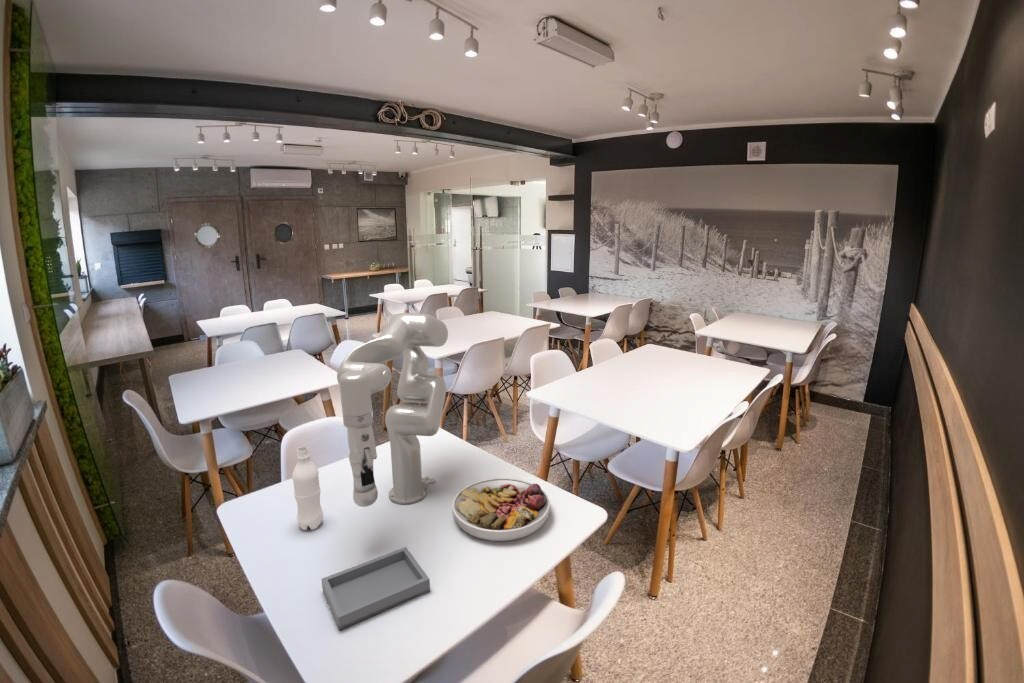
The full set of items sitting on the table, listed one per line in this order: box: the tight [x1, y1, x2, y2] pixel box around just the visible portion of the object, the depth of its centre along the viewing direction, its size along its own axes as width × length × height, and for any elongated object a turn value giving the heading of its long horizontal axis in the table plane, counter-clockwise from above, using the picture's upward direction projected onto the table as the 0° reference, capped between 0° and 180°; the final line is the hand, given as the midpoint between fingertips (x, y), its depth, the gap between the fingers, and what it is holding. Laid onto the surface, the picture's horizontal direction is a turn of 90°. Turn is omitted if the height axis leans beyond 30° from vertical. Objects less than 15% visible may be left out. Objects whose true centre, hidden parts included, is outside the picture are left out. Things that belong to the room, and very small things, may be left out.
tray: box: [321, 546, 431, 632], centre depth 123 cm, size 22×15×4 cm
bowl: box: [451, 477, 551, 542], centre depth 154 cm, size 30×30×8 cm
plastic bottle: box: [348, 449, 379, 508], centre depth 135 cm, size 6×7×20 cm
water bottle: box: [291, 446, 324, 531], centre depth 147 cm, size 7×7×25 cm
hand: (363, 478), depth 135 cm, fingers closed on plastic bottle, 6 cm apart
